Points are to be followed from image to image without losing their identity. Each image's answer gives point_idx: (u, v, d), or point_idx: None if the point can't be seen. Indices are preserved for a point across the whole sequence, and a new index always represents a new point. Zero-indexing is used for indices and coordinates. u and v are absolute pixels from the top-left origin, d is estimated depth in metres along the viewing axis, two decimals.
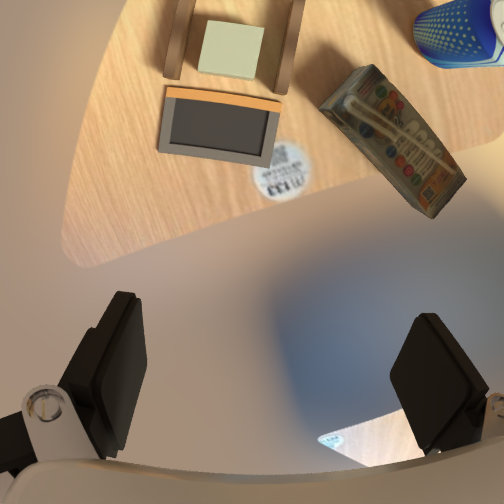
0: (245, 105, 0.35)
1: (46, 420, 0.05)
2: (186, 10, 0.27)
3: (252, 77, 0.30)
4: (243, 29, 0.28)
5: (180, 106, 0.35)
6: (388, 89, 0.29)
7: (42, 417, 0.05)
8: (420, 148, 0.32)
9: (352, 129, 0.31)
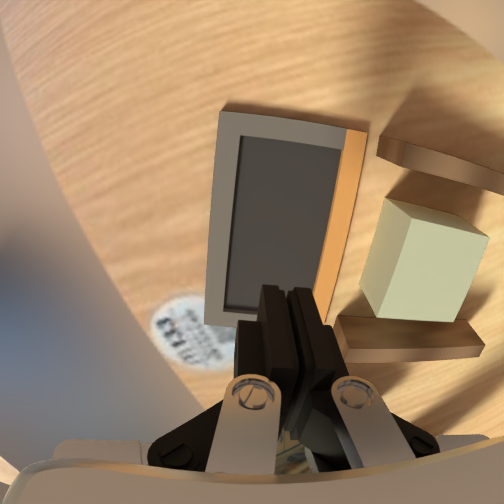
0: (319, 281, 0.20)
1: (246, 406, 0.06)
2: None
3: (379, 314, 0.17)
4: (460, 293, 0.17)
5: (322, 156, 0.17)
6: None
7: (243, 402, 0.06)
8: None
9: (302, 446, 0.20)
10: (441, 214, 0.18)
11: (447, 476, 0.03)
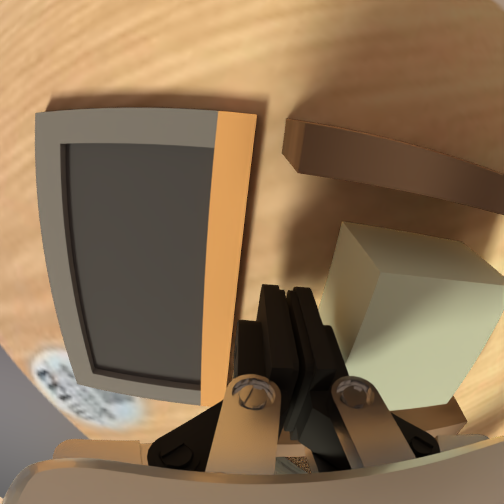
0: (205, 348, 0.13)
1: (246, 406, 0.06)
2: None
3: None
4: (461, 370, 0.10)
5: (184, 162, 0.10)
6: None
7: (244, 402, 0.06)
8: None
9: None
10: (438, 246, 0.11)
11: (447, 476, 0.03)
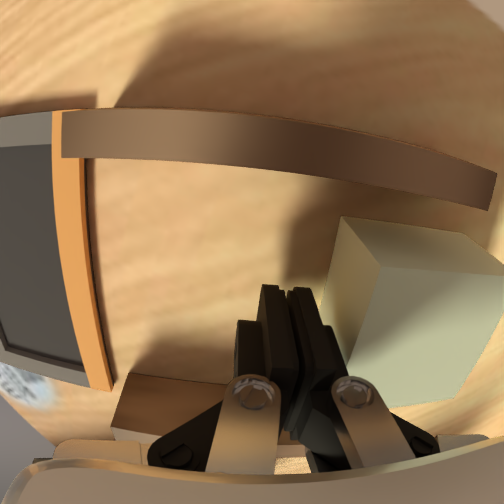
0: (77, 330, 0.13)
1: (246, 406, 0.06)
2: (382, 183, 0.08)
3: None
4: (466, 364, 0.10)
5: (37, 159, 0.10)
6: None
7: (243, 402, 0.06)
8: None
9: None
10: (439, 239, 0.11)
11: (447, 476, 0.03)
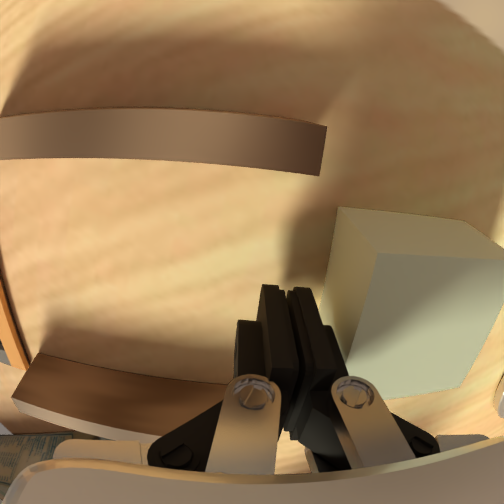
0: None
1: (246, 406, 0.06)
2: (153, 156, 0.07)
3: None
4: (471, 351, 0.10)
5: None
6: None
7: (243, 402, 0.06)
8: None
9: None
10: (438, 225, 0.11)
11: (447, 476, 0.03)
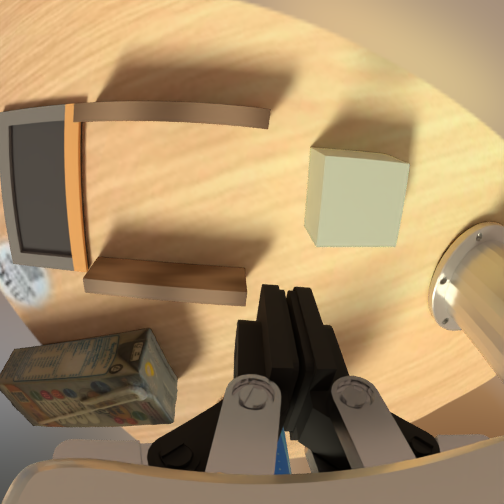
0: (70, 225, 0.22)
1: (246, 406, 0.06)
2: (200, 121, 0.17)
3: (318, 244, 0.21)
4: (394, 218, 0.21)
5: (55, 128, 0.19)
6: (139, 421, 0.26)
7: (243, 402, 0.06)
8: (68, 413, 0.25)
9: (105, 377, 0.23)
10: (364, 153, 0.21)
11: (447, 476, 0.03)
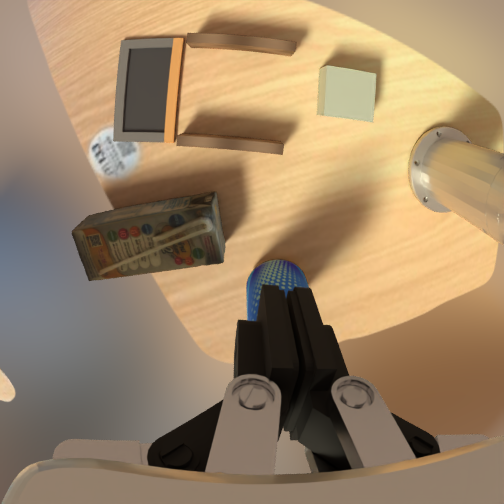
0: (167, 110, 0.36)
1: (246, 406, 0.06)
2: (259, 46, 0.30)
3: (325, 114, 0.33)
4: (369, 104, 0.33)
5: (164, 52, 0.33)
6: (196, 260, 0.39)
7: (243, 402, 0.06)
8: (135, 255, 0.38)
9: (184, 210, 0.36)
10: None
11: (447, 476, 0.03)
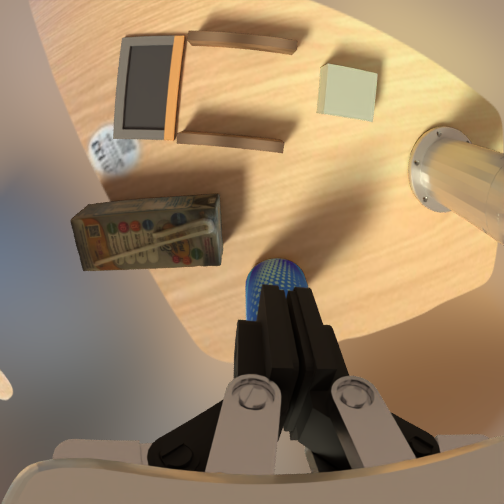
0: (167, 107, 0.35)
1: (246, 406, 0.06)
2: (261, 44, 0.30)
3: (324, 112, 0.33)
4: (370, 103, 0.33)
5: (165, 49, 0.33)
6: (194, 260, 0.39)
7: (243, 402, 0.06)
8: (133, 249, 0.37)
9: (187, 209, 0.36)
10: None
11: (447, 476, 0.03)
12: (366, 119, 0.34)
